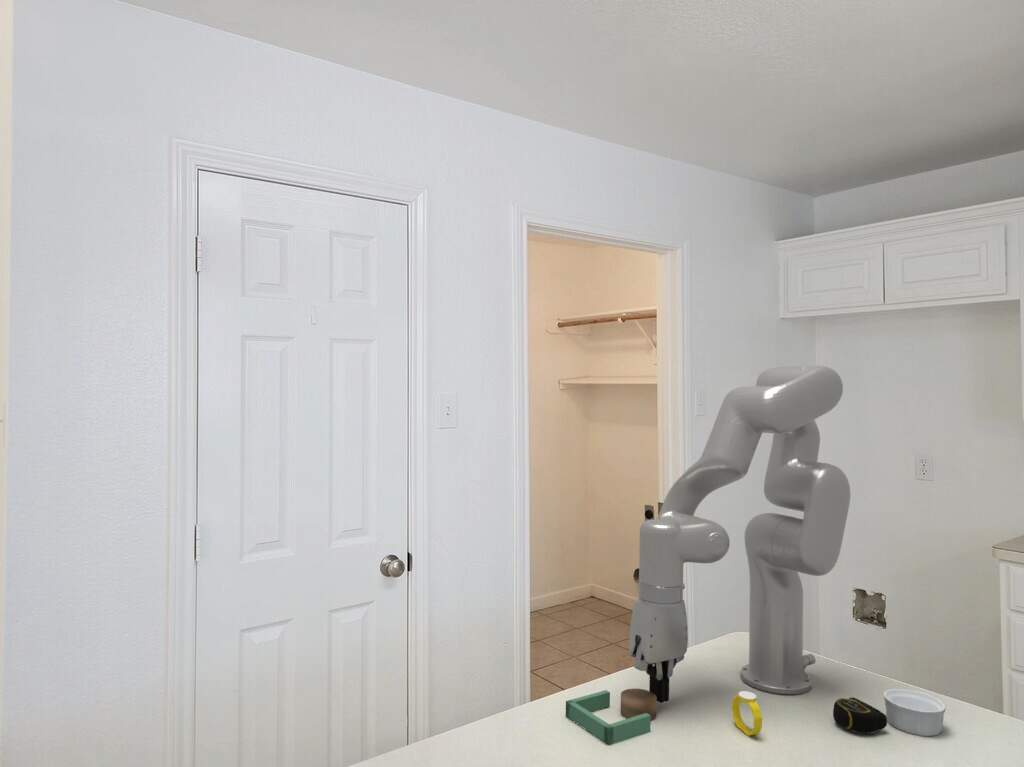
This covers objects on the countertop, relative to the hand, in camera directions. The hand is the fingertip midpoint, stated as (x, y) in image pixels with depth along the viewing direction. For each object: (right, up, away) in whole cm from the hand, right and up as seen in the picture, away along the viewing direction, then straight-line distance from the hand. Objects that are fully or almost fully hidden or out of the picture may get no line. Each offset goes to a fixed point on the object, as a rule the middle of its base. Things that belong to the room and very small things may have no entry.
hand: (659, 699), depth 118 cm
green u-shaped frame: (-10, -1, -6) cm, 11 cm away
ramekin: (+41, -2, -5) cm, 41 cm away
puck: (-4, -1, -3) cm, 5 cm away
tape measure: (+32, -2, -6) cm, 32 cm away
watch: (+12, -2, -8) cm, 15 cm away
